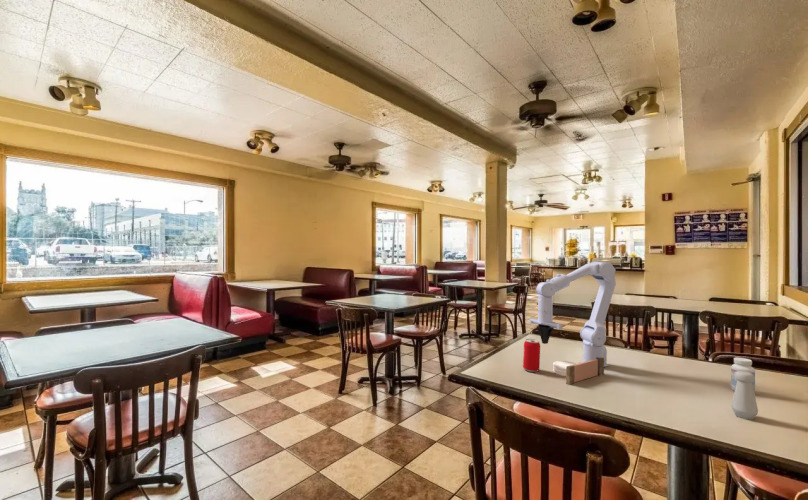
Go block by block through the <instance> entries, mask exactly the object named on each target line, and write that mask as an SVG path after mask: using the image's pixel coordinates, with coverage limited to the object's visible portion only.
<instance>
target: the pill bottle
mask: <svg viewBox="0 0 808 500" xmlns="http://www.w3.org/2000/svg"><path fill="white" fill-rule="evenodd" d="M752 365H753V361H752V360H751V359H749V358H744V357H733V364H732V365H731V366H730V377H731V378H730V387H731V390H732V391H734V392H735V388H736V384H737V379H736V378H735V372H737V371H744V372H749V373H751V374H753V375H754V376H755V377H756V370H755V368H754V367H753V366H752ZM752 385H753V389H754V394H756V380H755V381H754V382H752Z"/></svg>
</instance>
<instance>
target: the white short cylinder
mask: <svg viewBox="0 0 808 500" xmlns="http://www.w3.org/2000/svg"><path fill="white" fill-rule="evenodd" d="M574 364H577V363H575V362H571V361H567V360H566V361H565V360H558V361H557V360H556V361H554V362H553V363H552V368H553V369H552V372H553V373H554V374H556V375H558V376H561V377H566V369H567V366H570V365H574Z"/></svg>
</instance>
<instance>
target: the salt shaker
mask: <svg viewBox="0 0 808 500" xmlns="http://www.w3.org/2000/svg"><path fill="white" fill-rule="evenodd" d="M735 378H736V379H737V384H736V388H735V391H734V393H733V397H732V401H731V403H730V407H731V410H732V411H733V412H734V414H735V416H736V417H737V418H740V419H743V420H749V421H753V420H754V419H755V418H756V416H758V413H759V409H758V403H757V400H756V399H757V398H756V395H755V394H756V393H755V394H754V389H753V385H752V382H754V381H755V382H756V375H755V376H754V375H753V374H751V373H749V372H744V371H737V372H735Z"/></svg>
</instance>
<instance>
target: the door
mask: <svg viewBox="0 0 808 500" xmlns="http://www.w3.org/2000/svg"><path fill="white" fill-rule="evenodd" d="M581 362H582V363H580V362H578V363H576V364H574V365H573V366H575V373H574V383H577V382H580V381H583V380H586V379H590V378H593V377H597V375H598V360H597V359H593V360H590V361H586V362H583V361H581Z"/></svg>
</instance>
